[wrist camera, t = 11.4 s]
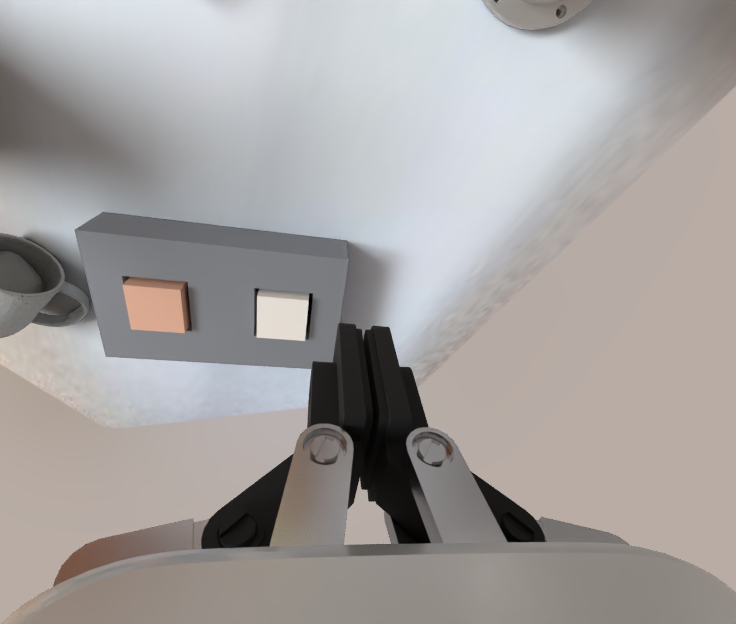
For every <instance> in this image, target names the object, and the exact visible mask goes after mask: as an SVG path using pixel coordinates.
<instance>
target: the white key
mask: <svg viewBox="0 0 736 624" xmlns="http://www.w3.org/2000/svg"><path fill="white" fill-rule="evenodd" d="M308 303H309V293H302V292H291V291H280V290H270V289H259V291H258V295H257V338H270V339H284V340H297V341H305V336H306V325H307V314H308Z"/></svg>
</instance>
